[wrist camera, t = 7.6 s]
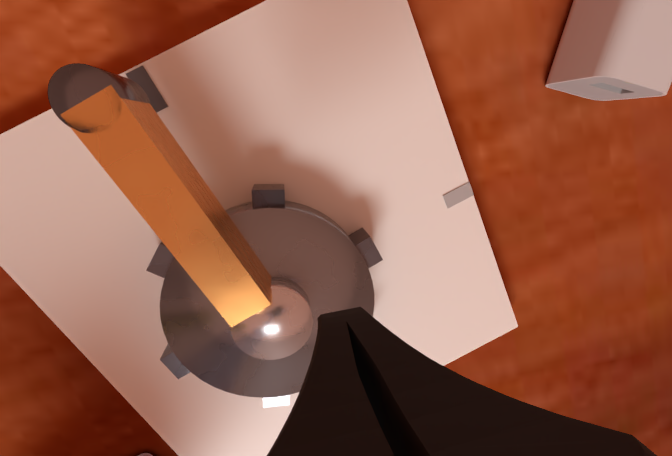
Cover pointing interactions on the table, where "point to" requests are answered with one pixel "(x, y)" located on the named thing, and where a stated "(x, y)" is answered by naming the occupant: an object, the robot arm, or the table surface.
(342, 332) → the robot arm
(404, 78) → the base plate
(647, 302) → the table surface
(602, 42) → the usb wall charger
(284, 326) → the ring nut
